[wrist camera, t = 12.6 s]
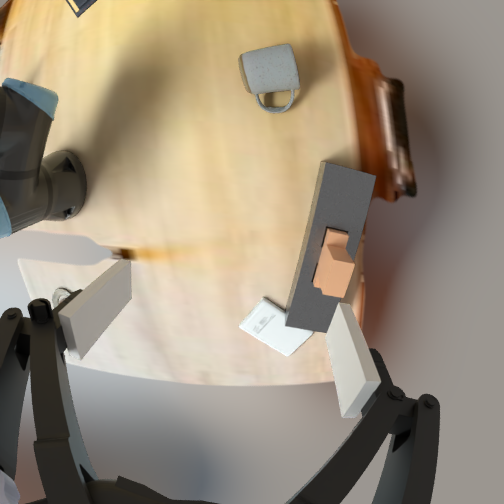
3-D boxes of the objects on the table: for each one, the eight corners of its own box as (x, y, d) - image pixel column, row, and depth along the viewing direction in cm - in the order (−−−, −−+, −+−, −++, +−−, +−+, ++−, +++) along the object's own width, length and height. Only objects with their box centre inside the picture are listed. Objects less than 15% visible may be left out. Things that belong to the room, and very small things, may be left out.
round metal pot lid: (50, 284, 58) (39, 292, 53) (79, 289, 56) (68, 298, 52) (62, 322, 62) (53, 330, 57) (91, 330, 61) (82, 339, 56)
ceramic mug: (240, 62, 37) (233, 46, 30) (289, 53, 36) (291, 36, 28) (254, 118, 40) (248, 112, 33) (304, 109, 39) (308, 101, 32)
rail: (284, 311, 51) (284, 326, 47) (320, 161, 41) (325, 162, 37) (324, 318, 51) (327, 333, 46) (366, 173, 41) (376, 175, 37)
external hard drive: (287, 352, 55) (239, 323, 54) (313, 328, 53) (263, 295, 51) (287, 357, 54) (238, 327, 52) (313, 332, 51) (262, 299, 50)
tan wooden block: (310, 271, 47) (318, 307, 36) (323, 221, 44) (337, 244, 33) (327, 274, 47) (339, 310, 36) (340, 225, 44) (359, 249, 32)
